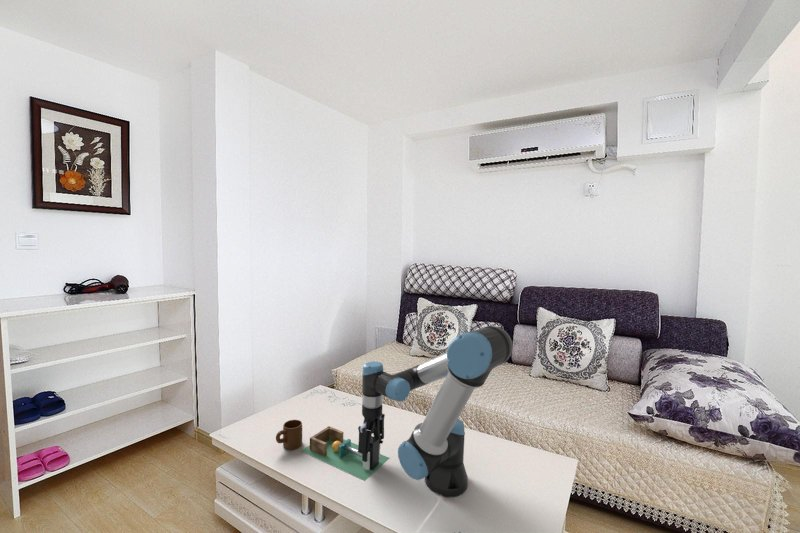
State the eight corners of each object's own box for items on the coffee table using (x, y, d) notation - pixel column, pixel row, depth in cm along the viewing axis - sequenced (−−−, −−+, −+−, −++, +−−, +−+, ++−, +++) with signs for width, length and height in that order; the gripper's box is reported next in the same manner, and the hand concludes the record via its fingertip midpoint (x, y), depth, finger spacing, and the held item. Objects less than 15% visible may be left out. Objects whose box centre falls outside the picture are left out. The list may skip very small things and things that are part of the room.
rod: (380, 462, 136) (380, 437, 135) (370, 471, 131) (371, 445, 130) (348, 449, 144) (348, 425, 144) (338, 457, 139) (338, 432, 139)
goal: (343, 443, 149) (343, 431, 149) (324, 456, 140) (324, 444, 139) (328, 437, 153) (328, 426, 153) (309, 449, 144) (309, 438, 144)
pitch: (389, 459, 140) (389, 457, 140) (364, 482, 126) (364, 480, 126) (328, 434, 157) (328, 433, 157) (300, 452, 143) (300, 451, 143)
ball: (344, 450, 144) (344, 440, 144) (337, 455, 141) (337, 445, 141) (336, 447, 146) (336, 437, 146) (329, 451, 143) (329, 442, 143)
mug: (282, 459, 138) (282, 435, 138) (269, 452, 142) (269, 429, 142) (306, 444, 149) (306, 422, 148) (293, 438, 153) (293, 417, 152)
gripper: (378, 392, 143) (377, 448, 145) (348, 411, 127) (347, 473, 129) (394, 397, 139) (393, 454, 141) (364, 417, 123) (364, 481, 125)
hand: (371, 463), depth 135 cm, fingers open, 6 cm apart
